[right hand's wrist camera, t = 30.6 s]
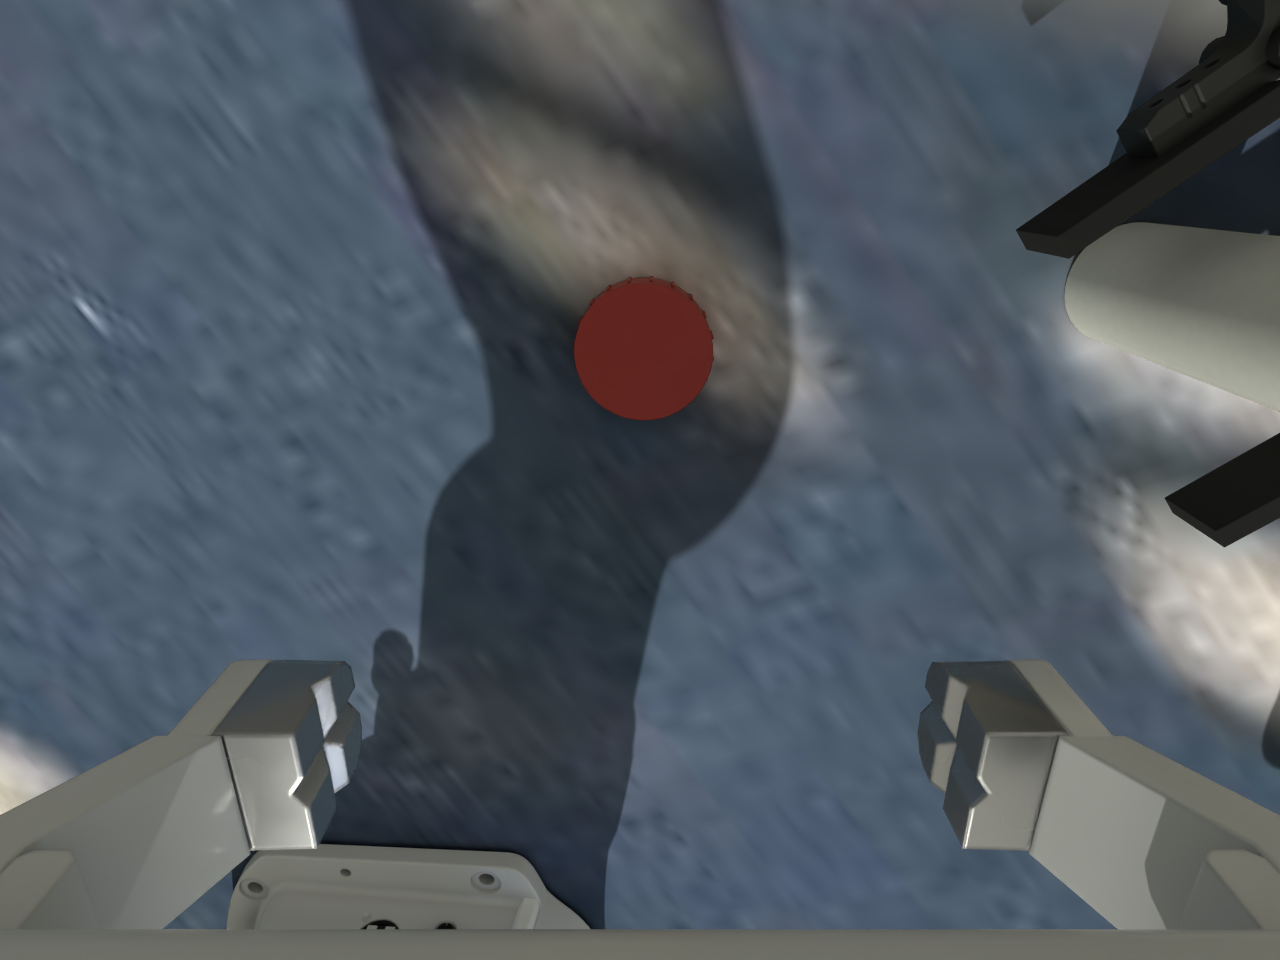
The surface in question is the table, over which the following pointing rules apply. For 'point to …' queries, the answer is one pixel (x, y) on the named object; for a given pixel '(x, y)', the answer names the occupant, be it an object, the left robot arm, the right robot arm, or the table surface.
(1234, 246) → the jar
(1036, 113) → the table surface
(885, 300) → the table surface
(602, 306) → the lid
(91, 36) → the table surface
